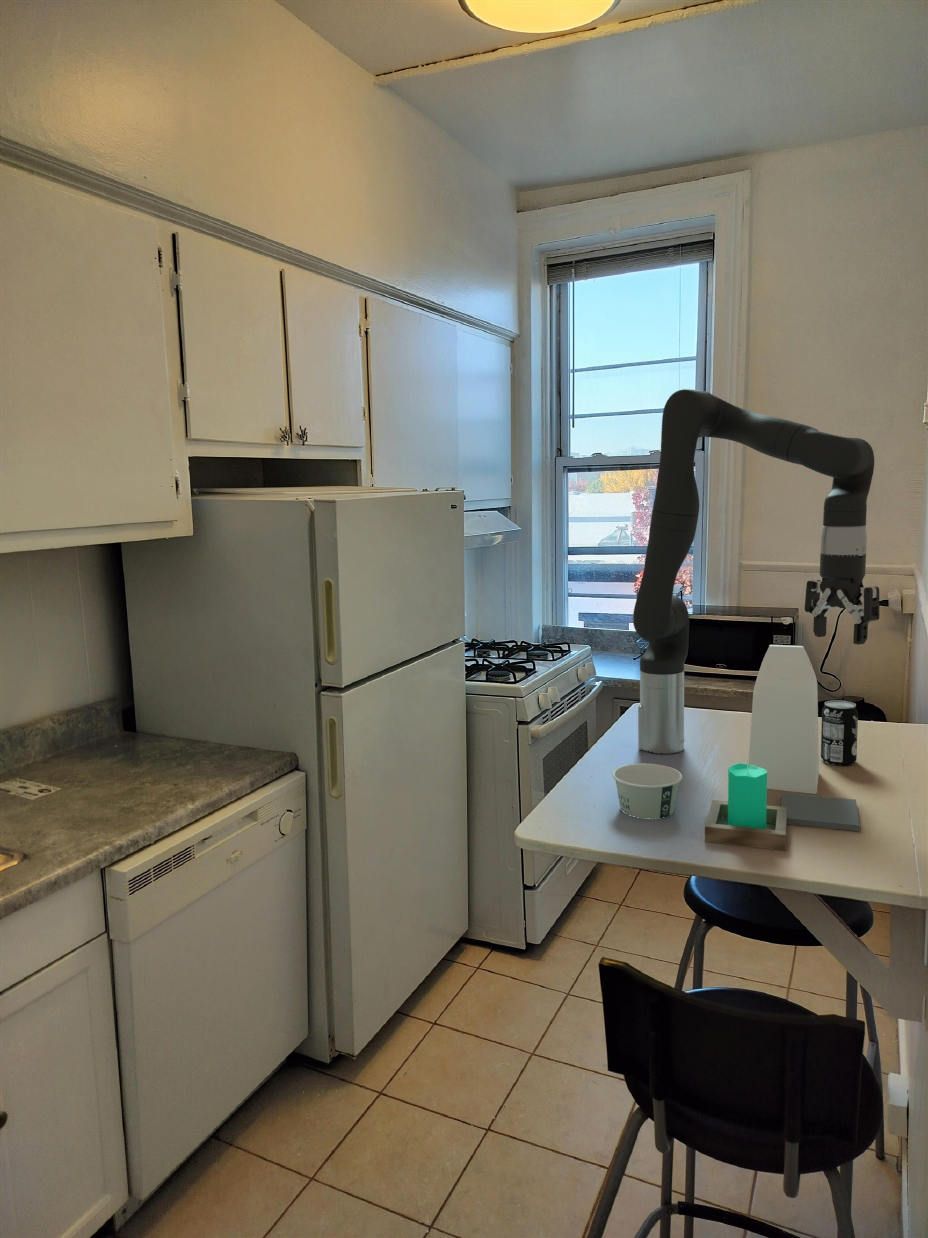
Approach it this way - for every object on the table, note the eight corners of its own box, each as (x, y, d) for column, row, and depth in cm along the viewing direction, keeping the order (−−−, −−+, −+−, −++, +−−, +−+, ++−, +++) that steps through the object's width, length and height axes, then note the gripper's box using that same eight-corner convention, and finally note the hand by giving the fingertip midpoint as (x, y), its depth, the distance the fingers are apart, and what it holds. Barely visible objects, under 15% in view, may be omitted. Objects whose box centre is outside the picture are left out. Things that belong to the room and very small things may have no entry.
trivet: (780, 823, 140) (780, 817, 140) (782, 798, 151) (782, 792, 151) (859, 831, 136) (859, 825, 136) (855, 805, 147) (855, 799, 147)
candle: (721, 825, 140) (722, 756, 139) (756, 823, 141) (757, 753, 139) (736, 840, 134) (737, 767, 133) (772, 837, 135) (774, 765, 133)
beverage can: (849, 756, 172) (851, 699, 171) (861, 767, 166) (863, 707, 164) (816, 756, 173) (817, 699, 171) (826, 767, 167) (828, 708, 165)
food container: (599, 804, 152) (599, 770, 151) (655, 793, 156) (654, 759, 155) (638, 828, 141) (638, 790, 140) (696, 814, 145) (696, 778, 145)
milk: (819, 773, 163) (822, 641, 159) (816, 794, 153) (819, 653, 149) (753, 767, 168) (755, 639, 164) (747, 786, 158) (748, 650, 154)
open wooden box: (704, 841, 134) (704, 826, 134) (712, 813, 145) (712, 800, 145) (785, 850, 130) (785, 835, 130) (786, 821, 141) (787, 807, 141)
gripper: (796, 550, 156) (793, 636, 158) (862, 555, 143) (858, 648, 145) (825, 547, 159) (822, 632, 161) (892, 552, 146) (888, 644, 149)
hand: (839, 640), depth 153 cm, fingers open, 8 cm apart
